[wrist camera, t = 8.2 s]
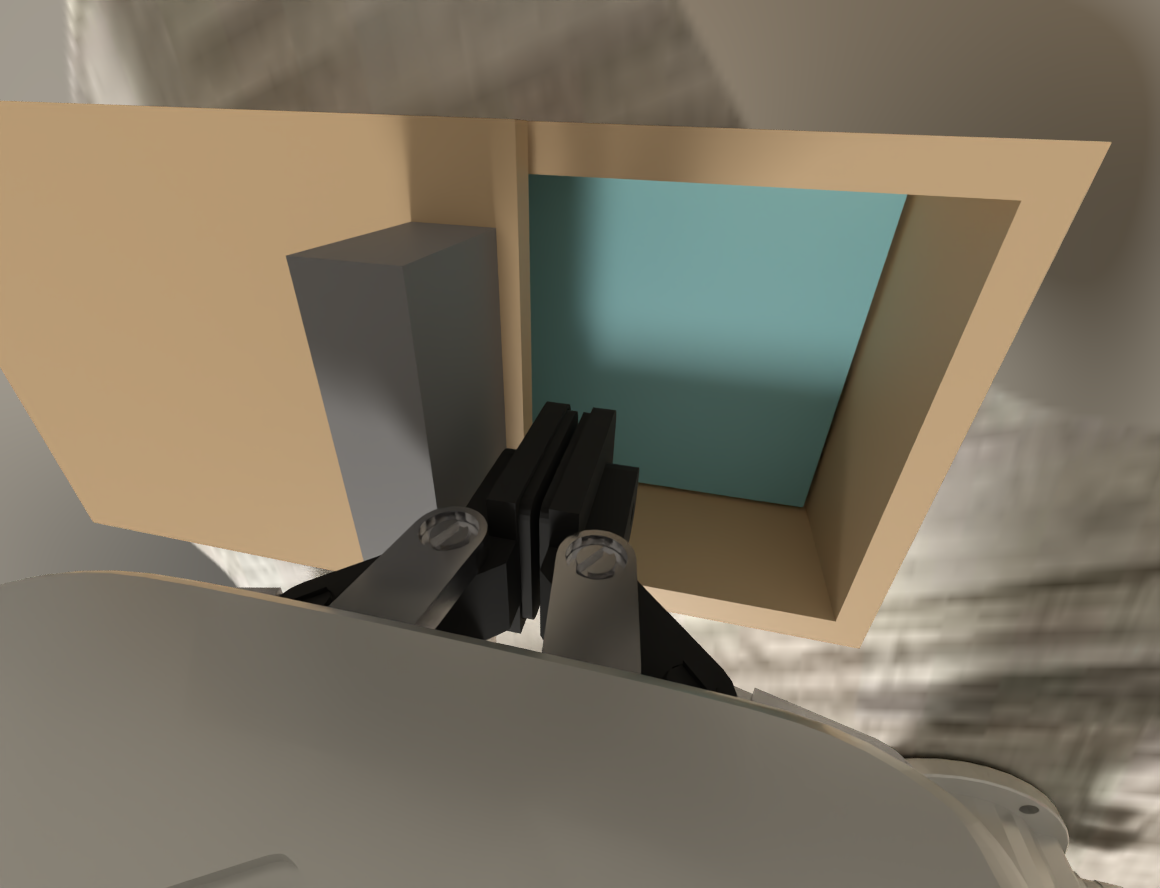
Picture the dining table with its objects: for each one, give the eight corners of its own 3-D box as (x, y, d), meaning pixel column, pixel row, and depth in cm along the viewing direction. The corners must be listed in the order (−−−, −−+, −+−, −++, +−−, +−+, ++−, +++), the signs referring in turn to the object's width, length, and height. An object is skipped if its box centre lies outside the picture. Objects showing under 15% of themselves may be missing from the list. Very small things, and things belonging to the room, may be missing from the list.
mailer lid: (527, 120, 11) (415, 108, 7) (535, 592, 18) (484, 724, 14) (-120, 97, 14) (-472, 78, 9) (113, 510, 21) (-31, 598, 17)
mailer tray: (953, 141, 15) (1112, 142, 9) (819, 514, 22) (859, 648, 16) (392, 120, 18) (236, 110, 12) (436, 455, 25) (354, 550, 19)
